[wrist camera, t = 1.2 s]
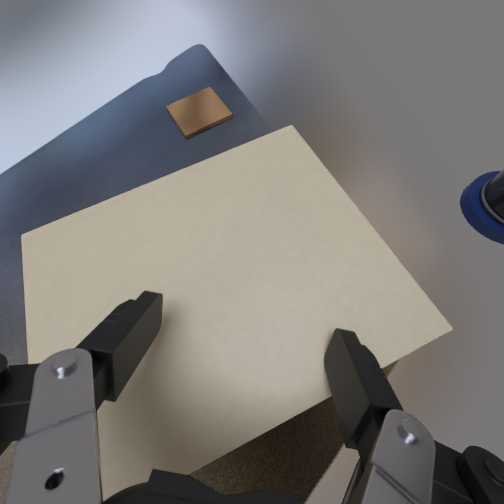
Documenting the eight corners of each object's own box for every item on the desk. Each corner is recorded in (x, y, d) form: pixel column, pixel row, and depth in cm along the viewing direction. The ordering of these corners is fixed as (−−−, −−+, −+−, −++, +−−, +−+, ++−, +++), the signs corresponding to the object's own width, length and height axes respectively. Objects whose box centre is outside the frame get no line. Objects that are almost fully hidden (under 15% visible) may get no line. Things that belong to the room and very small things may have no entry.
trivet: (210, 90, 50) (209, 86, 49) (233, 117, 46) (232, 113, 45) (167, 109, 48) (165, 105, 48) (186, 139, 45) (185, 135, 44)
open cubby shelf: (282, 238, 35) (291, 124, 18) (344, 343, 29) (454, 329, 11) (153, 297, 33) (20, 234, 16) (190, 424, 27) (38, 557, 9)
